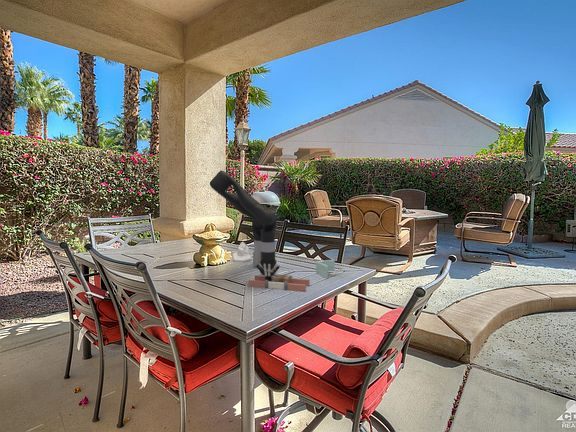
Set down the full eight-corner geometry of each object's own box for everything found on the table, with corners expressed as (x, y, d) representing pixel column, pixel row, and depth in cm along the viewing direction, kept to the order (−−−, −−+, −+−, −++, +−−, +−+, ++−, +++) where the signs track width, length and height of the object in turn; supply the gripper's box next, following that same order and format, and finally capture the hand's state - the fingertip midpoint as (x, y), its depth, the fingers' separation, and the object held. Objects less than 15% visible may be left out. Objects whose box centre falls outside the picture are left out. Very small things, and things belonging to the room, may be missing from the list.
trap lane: (247, 286, 157) (247, 278, 156) (255, 280, 168) (255, 272, 167) (305, 292, 149) (305, 283, 148) (309, 284, 160) (309, 277, 159)
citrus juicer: (256, 261, 214) (258, 243, 210) (239, 267, 204) (241, 248, 199) (245, 254, 222) (247, 236, 217) (228, 260, 211) (229, 241, 207)
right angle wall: (326, 279, 170) (326, 266, 169) (316, 274, 181) (316, 261, 180) (344, 277, 175) (345, 264, 174) (333, 271, 186) (333, 259, 185)
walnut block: (274, 287, 156) (274, 277, 156) (277, 283, 162) (277, 274, 161) (287, 288, 154) (287, 278, 154) (290, 284, 160) (290, 275, 160)
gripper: (253, 250, 156) (253, 284, 158) (278, 252, 153) (278, 286, 155) (258, 248, 164) (258, 279, 165) (282, 249, 160) (282, 281, 162)
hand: (268, 282), depth 160 cm, fingers closed
